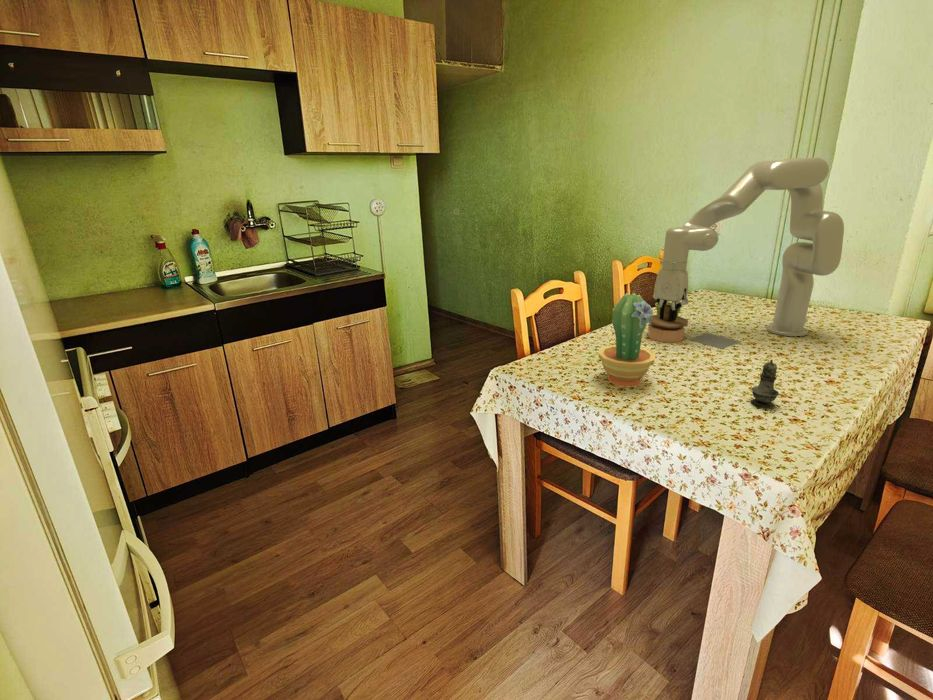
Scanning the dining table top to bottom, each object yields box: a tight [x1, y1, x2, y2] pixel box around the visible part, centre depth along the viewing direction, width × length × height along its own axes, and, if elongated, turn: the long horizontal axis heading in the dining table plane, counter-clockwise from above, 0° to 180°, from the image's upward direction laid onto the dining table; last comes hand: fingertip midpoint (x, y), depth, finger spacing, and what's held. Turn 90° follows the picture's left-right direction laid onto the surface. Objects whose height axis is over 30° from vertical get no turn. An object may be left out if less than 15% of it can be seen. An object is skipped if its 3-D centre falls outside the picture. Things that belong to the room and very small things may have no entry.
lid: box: [647, 305, 689, 328], centre depth 165 cm, size 13×13×6 cm
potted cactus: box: [597, 292, 656, 388], centre depth 133 cm, size 15×15×25 cm
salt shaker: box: [750, 359, 780, 410], centre depth 119 cm, size 6×6×12 cm
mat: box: [687, 332, 742, 350], centre depth 164 cm, size 12×12×1 cm
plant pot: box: [654, 301, 683, 317], centre depth 181 cm, size 9×9×9 cm
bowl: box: [647, 323, 685, 343], centre depth 168 cm, size 11×11×5 cm
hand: (667, 318), depth 166 cm, fingers closed on lid, 2 cm apart
